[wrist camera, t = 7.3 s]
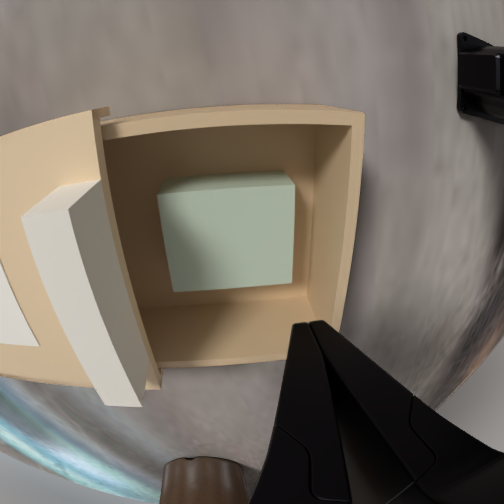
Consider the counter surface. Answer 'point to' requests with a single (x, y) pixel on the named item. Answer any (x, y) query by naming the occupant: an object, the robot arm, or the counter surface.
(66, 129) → the lid
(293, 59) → the counter surface
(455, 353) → the counter surface
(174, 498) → the plant pot
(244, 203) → the mailer box
